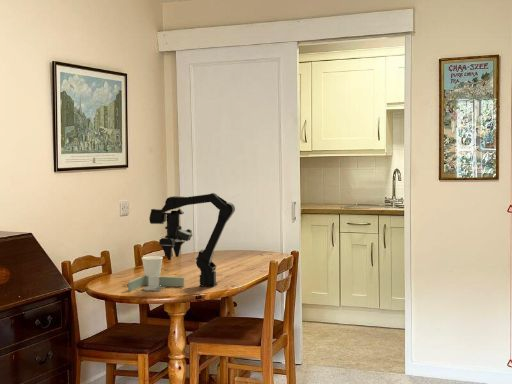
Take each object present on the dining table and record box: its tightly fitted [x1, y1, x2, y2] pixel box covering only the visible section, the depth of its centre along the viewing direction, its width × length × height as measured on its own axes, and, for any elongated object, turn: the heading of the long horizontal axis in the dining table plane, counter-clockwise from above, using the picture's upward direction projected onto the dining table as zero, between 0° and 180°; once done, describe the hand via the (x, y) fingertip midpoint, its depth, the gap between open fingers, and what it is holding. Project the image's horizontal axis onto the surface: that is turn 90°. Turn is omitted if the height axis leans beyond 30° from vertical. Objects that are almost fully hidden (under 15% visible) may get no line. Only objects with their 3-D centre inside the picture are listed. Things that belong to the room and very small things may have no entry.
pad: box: [140, 286, 168, 292], centre depth 298 cm, size 8×11×1 cm
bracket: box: [143, 276, 160, 290], centre depth 296 cm, size 6×5×5 cm
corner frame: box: [127, 275, 185, 292], centre depth 298 cm, size 20×16×4 cm
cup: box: [141, 255, 164, 276], centre depth 316 cm, size 10×10×11 cm
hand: (173, 258), depth 306 cm, fingers open, 9 cm apart
